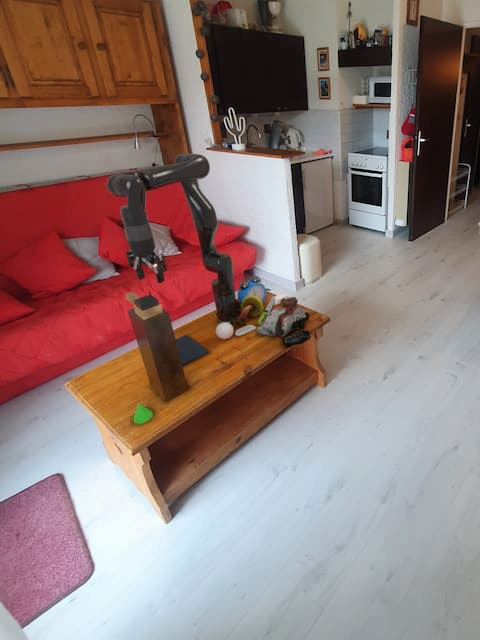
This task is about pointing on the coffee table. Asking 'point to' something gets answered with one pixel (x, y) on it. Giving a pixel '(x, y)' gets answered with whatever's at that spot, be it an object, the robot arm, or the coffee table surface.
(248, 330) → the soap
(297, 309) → the athletic shoe
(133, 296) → the brush
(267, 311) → the kitchen knife
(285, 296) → the toy vehicle
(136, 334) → the tall dark wooden block
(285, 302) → the stone
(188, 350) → the mat
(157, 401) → the coffee table surface
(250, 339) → the coffee table surface
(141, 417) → the gemstone
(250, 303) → the mushroom
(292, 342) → the toy car
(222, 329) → the white egg
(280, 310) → the stone
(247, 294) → the alarm clock
